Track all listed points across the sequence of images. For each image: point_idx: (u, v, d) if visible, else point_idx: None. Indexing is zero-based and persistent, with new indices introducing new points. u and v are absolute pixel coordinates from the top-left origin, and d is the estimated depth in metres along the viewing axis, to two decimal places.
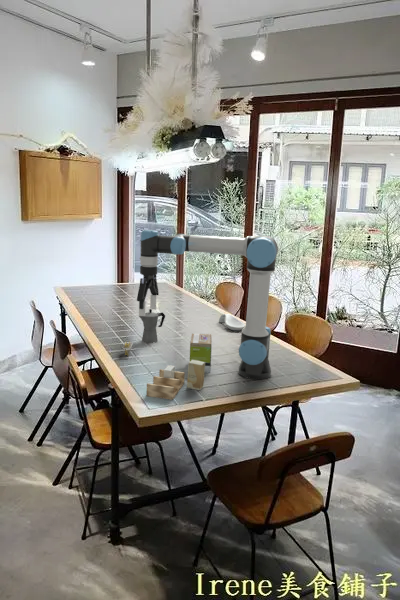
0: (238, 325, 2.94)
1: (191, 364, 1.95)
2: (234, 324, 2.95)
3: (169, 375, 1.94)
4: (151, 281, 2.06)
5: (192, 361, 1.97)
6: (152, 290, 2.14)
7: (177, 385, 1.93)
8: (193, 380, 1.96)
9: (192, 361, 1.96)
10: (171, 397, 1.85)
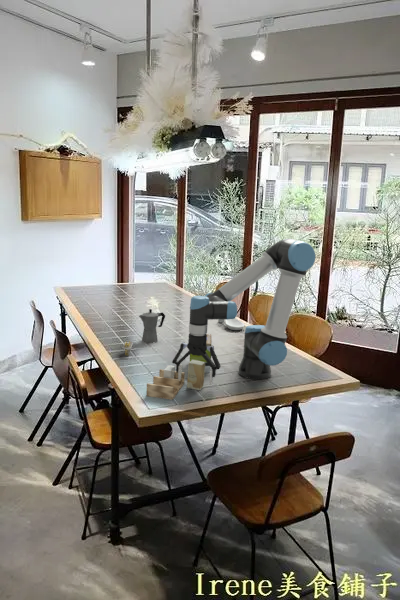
0: (238, 325, 2.95)
1: (191, 364, 1.95)
2: (234, 324, 2.96)
3: (169, 375, 1.94)
4: (192, 349, 1.93)
5: (192, 361, 1.97)
6: None
7: (177, 385, 1.93)
8: (193, 380, 1.96)
9: (192, 361, 1.96)
10: (171, 397, 1.85)
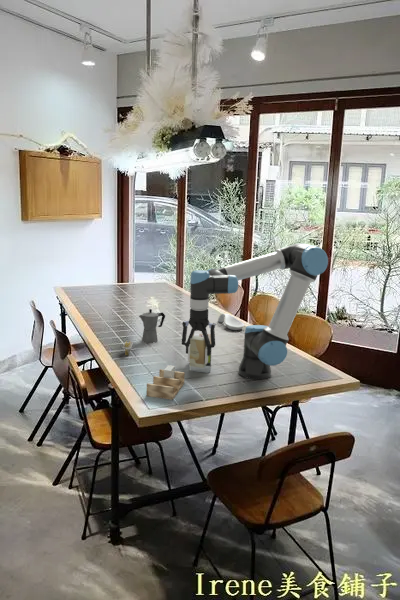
0: (237, 325, 2.95)
1: (193, 340, 1.93)
2: (233, 324, 2.96)
3: (169, 375, 1.94)
4: (194, 325, 1.91)
5: (194, 337, 1.95)
6: None
7: (177, 385, 1.93)
8: (196, 356, 1.94)
9: (193, 337, 1.94)
10: (171, 397, 1.85)
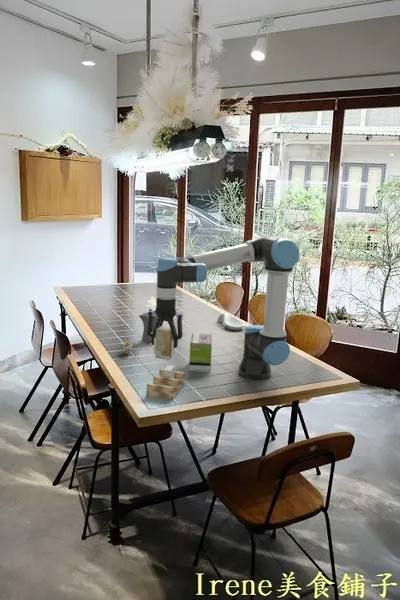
0: (237, 324, 2.95)
1: (159, 330, 1.84)
2: (233, 324, 2.96)
3: (169, 375, 1.94)
4: (160, 315, 1.82)
5: (160, 328, 1.85)
6: None
7: (177, 385, 1.93)
8: (162, 348, 1.85)
9: (160, 328, 1.85)
10: (171, 397, 1.85)
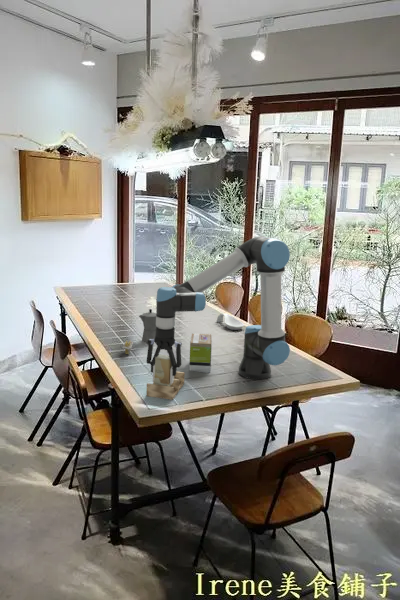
0: (237, 324, 2.96)
1: (158, 358, 1.86)
2: (233, 323, 2.96)
3: None
4: (160, 343, 1.85)
5: (159, 356, 1.88)
6: None
7: (177, 385, 1.93)
8: (161, 375, 1.87)
9: (159, 356, 1.88)
10: (171, 397, 1.85)
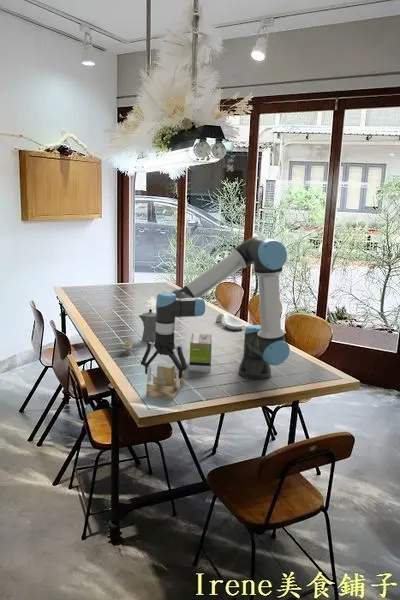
0: (236, 324, 2.96)
1: (160, 367, 1.87)
2: (232, 323, 2.97)
3: None
4: (159, 349, 1.85)
5: (161, 364, 1.89)
6: None
7: None
8: (163, 384, 1.88)
9: (161, 364, 1.88)
10: (171, 397, 1.85)
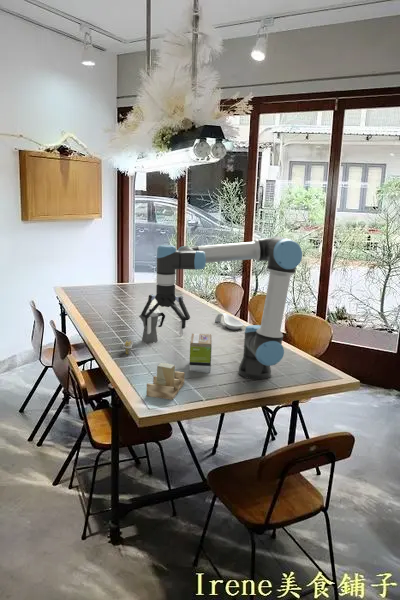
0: (236, 324, 2.96)
1: (160, 367, 1.87)
2: (232, 323, 2.97)
3: None
4: (161, 300, 1.89)
5: (161, 364, 1.89)
6: None
7: (177, 385, 1.93)
8: (163, 384, 1.88)
9: (161, 364, 1.88)
10: (171, 397, 1.85)
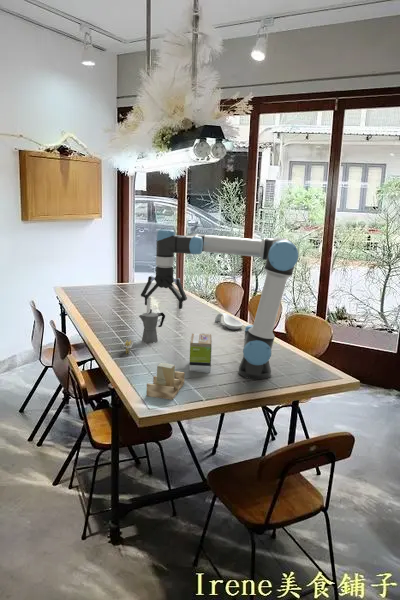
0: (236, 324, 2.97)
1: (160, 367, 1.87)
2: (232, 323, 2.97)
3: None
4: (159, 282, 2.00)
5: (161, 364, 1.89)
6: None
7: (177, 385, 1.93)
8: (163, 384, 1.88)
9: (161, 364, 1.88)
10: (171, 397, 1.85)
